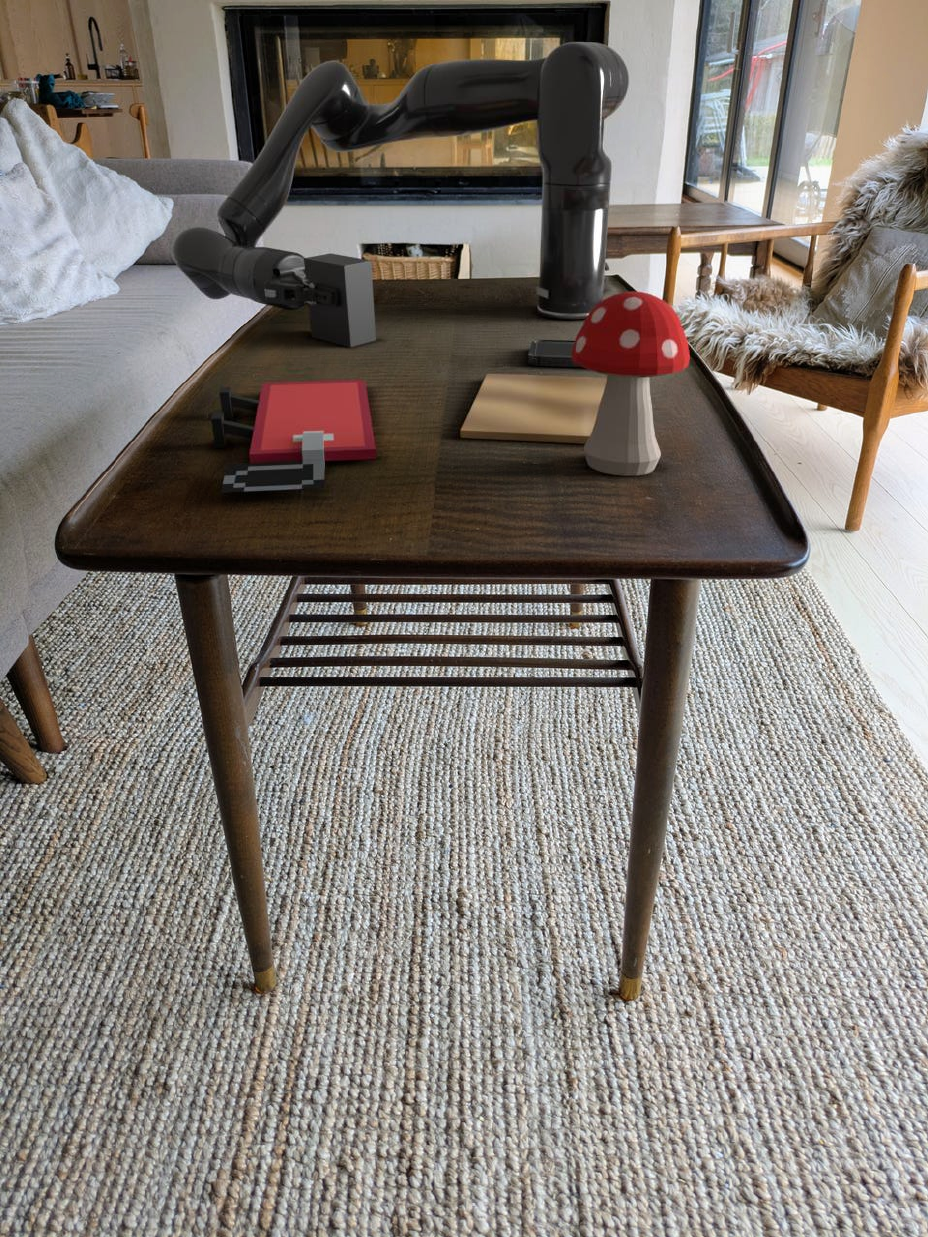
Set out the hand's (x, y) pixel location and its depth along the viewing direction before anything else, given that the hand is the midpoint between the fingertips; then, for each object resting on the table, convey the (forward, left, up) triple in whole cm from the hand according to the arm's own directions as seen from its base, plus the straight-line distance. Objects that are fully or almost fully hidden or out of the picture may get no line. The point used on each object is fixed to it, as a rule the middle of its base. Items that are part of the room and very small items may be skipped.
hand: (353, 294), depth 116 cm
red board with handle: (+36, +3, -6) cm, 37 cm away
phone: (+5, +31, -6) cm, 32 cm away
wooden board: (+24, +28, -6) cm, 37 cm away
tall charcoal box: (-1, -2, -6) cm, 7 cm away
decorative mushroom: (+39, +35, -6) cm, 52 cm away
